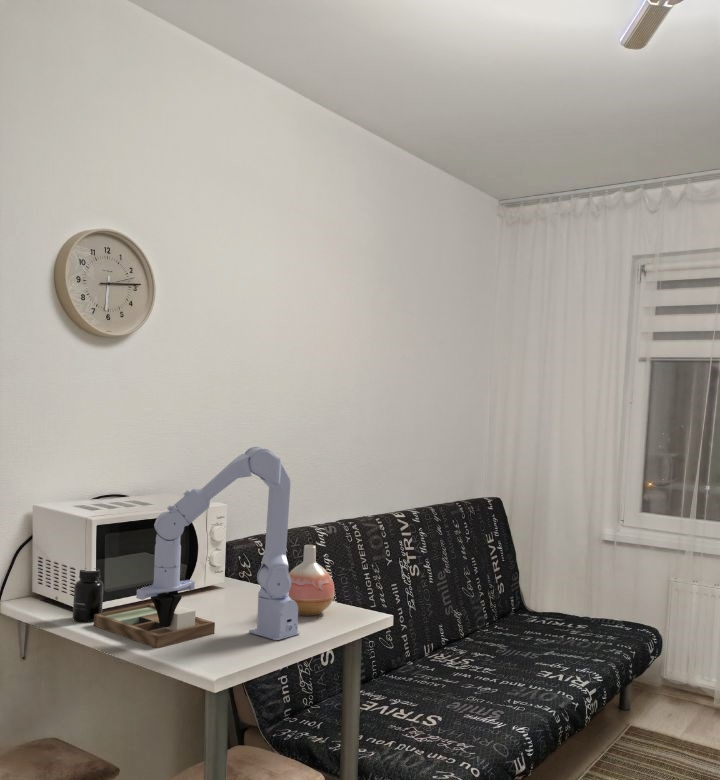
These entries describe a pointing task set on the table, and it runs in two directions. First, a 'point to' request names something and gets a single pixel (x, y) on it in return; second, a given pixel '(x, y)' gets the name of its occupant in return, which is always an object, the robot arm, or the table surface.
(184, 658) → the table surface
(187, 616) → the cream block
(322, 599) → the vase
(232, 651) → the table surface
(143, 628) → the tray
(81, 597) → the supplement bottle
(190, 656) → the table surface
